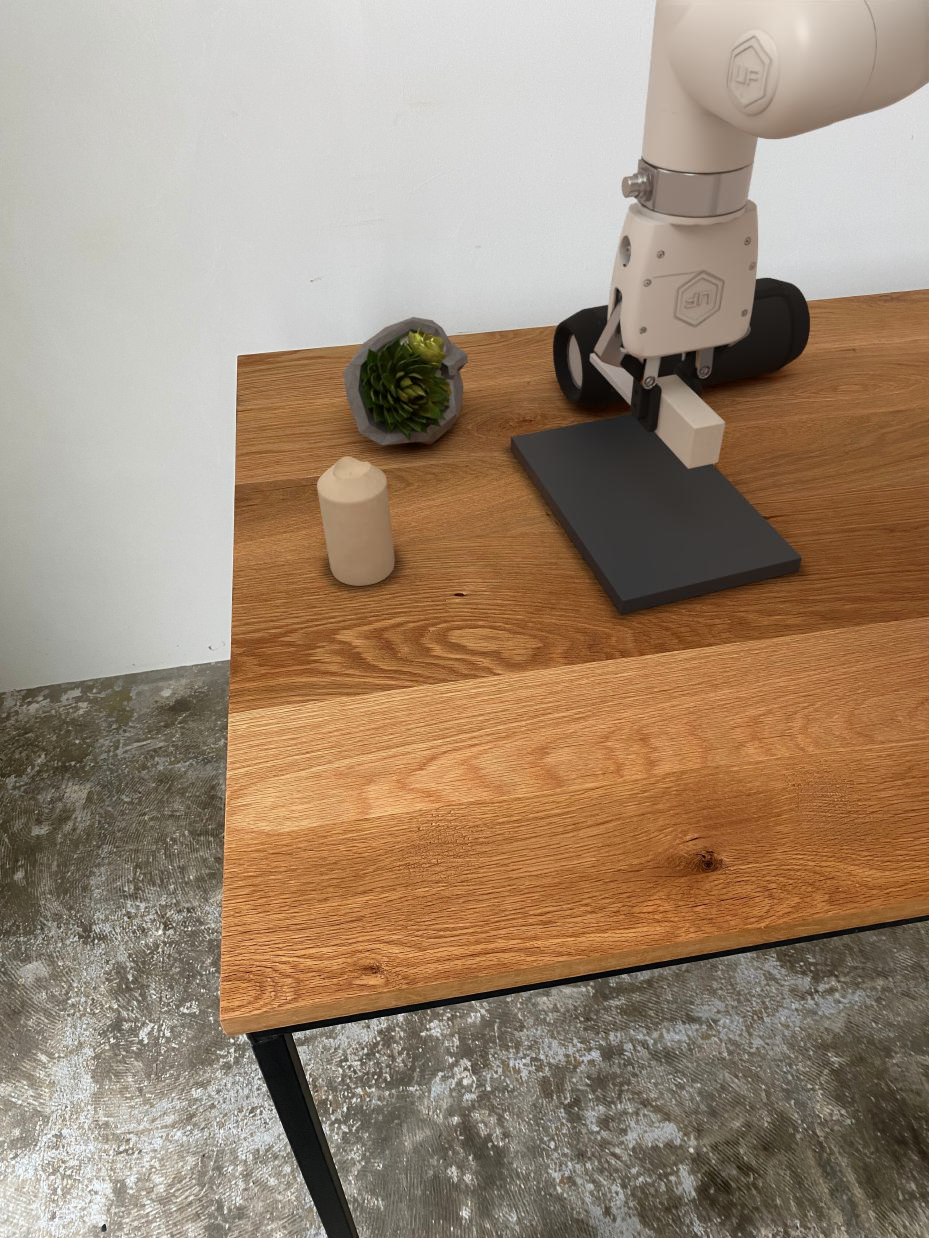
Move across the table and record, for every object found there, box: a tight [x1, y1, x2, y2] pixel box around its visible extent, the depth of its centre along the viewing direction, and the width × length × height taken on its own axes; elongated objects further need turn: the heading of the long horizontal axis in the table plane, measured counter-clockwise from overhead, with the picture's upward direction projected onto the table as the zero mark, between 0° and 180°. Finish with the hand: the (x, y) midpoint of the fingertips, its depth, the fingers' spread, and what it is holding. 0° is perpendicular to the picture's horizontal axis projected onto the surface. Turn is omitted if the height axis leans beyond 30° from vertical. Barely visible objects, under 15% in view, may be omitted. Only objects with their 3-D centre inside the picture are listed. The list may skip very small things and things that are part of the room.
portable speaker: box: [552, 277, 811, 408], centre depth 98 cm, size 26×10×10 cm, turn 108°
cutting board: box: [510, 413, 803, 615], centre depth 84 cm, size 16×26×2 cm, turn 18°
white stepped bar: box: [590, 353, 726, 469], centre depth 78 cm, size 19×3×4 cm, turn 18°
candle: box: [316, 455, 396, 587], centre depth 76 cm, size 6×6×10 cm
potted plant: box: [342, 316, 469, 446], centre depth 91 cm, size 12×13×15 cm
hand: (663, 418), depth 77 cm, fingers closed on white stepped bar, 2 cm apart
